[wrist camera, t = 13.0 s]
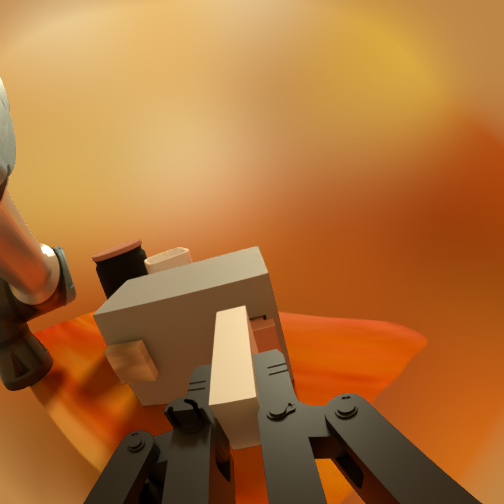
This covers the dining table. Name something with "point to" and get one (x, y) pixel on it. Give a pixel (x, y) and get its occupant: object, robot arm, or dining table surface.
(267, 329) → the terracotta plunger
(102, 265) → the coffee jar
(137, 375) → the pale plunger
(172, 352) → the wall block
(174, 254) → the cup
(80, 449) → the dining table surface
